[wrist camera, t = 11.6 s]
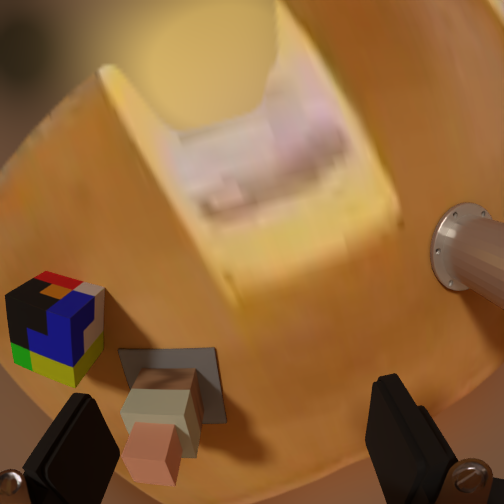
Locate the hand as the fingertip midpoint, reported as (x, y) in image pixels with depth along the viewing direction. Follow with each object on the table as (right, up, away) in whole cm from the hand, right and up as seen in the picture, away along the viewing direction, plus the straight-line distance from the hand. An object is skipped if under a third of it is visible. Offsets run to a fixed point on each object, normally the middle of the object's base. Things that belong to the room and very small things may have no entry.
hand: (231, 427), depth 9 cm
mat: (-11, -14, +34) cm, 39 cm away
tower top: (-11, -16, +29) cm, 35 cm away
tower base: (-11, -15, +34) cm, 38 cm away
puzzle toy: (-25, -3, +32) cm, 40 cm away
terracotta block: (-11, -17, +24) cm, 31 cm away
